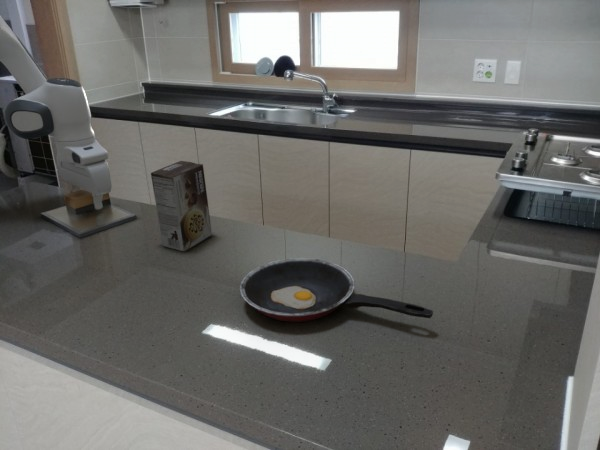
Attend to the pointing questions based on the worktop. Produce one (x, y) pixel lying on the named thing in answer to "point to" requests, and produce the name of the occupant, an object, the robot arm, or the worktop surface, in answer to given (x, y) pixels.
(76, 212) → the eraser
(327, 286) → the frying pan
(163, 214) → the coffee box
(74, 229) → the whiteboard
